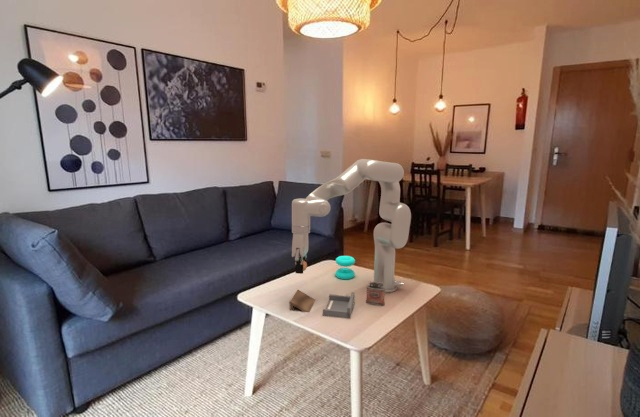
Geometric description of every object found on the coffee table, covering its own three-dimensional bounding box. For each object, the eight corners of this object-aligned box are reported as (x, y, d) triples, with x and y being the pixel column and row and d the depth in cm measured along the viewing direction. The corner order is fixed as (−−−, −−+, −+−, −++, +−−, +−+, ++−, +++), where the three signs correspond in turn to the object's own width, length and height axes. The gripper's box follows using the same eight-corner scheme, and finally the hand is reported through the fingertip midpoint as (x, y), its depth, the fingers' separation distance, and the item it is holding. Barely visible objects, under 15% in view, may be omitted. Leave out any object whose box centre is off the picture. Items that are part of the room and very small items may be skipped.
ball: (296, 268, 151) (296, 257, 150) (308, 269, 150) (308, 258, 149) (293, 272, 146) (293, 261, 145) (305, 273, 145) (305, 262, 144)
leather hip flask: (365, 303, 152) (365, 281, 150) (366, 300, 155) (367, 279, 153) (383, 306, 149) (384, 284, 148) (385, 303, 153) (386, 281, 151)
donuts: (337, 254, 187) (356, 255, 184) (337, 272, 189) (355, 273, 186) (333, 260, 177) (353, 262, 175) (333, 279, 179) (353, 281, 177)
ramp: (315, 301, 156) (315, 291, 155) (309, 314, 144) (309, 303, 143) (296, 299, 157) (296, 289, 157) (289, 312, 146) (289, 301, 145)
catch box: (354, 301, 154) (354, 292, 153) (350, 318, 139) (350, 308, 138) (329, 299, 156) (329, 290, 155) (322, 315, 141) (322, 305, 141)
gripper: (297, 223, 153) (297, 263, 157) (286, 233, 137) (286, 277, 141) (314, 224, 152) (314, 264, 155) (304, 234, 136) (304, 279, 139)
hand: (301, 270), depth 148 cm, fingers closed on ball, 4 cm apart
